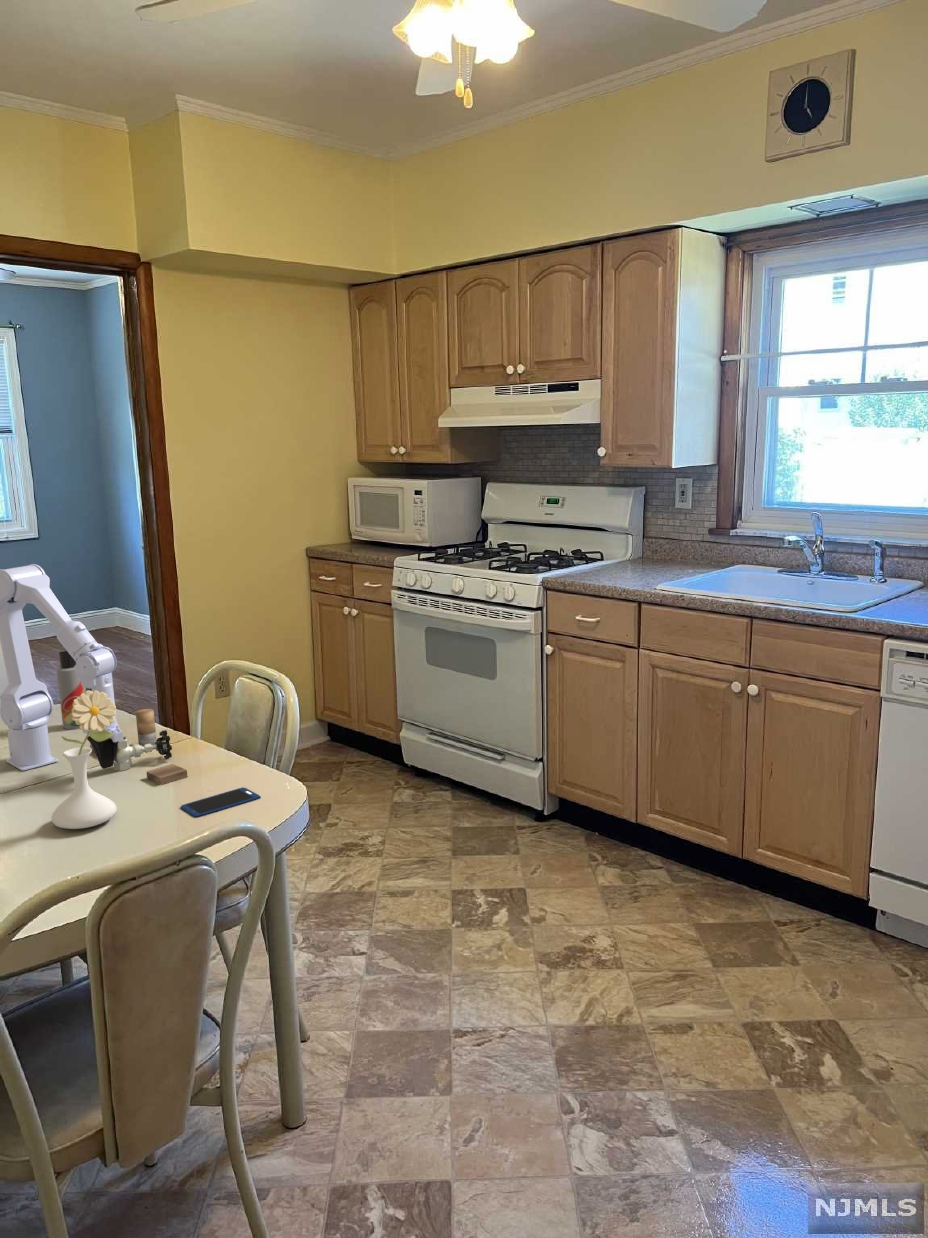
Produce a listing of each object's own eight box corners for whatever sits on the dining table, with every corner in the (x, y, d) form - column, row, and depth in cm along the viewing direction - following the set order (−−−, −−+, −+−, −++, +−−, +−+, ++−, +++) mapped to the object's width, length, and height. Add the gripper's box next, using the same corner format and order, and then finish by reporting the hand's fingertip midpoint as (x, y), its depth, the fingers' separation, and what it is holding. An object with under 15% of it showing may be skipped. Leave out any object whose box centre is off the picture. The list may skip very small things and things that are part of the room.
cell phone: (262, 799, 181) (262, 796, 181) (195, 820, 172) (195, 816, 172) (244, 790, 186) (244, 786, 186) (179, 809, 177) (178, 805, 177)
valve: (116, 774, 196) (173, 762, 203) (113, 744, 195) (170, 733, 201) (109, 765, 202) (164, 754, 208) (106, 736, 200) (162, 726, 207)
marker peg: (135, 744, 216) (132, 711, 214) (151, 740, 218) (148, 708, 217) (143, 748, 213) (140, 715, 211) (160, 744, 216) (156, 711, 214)
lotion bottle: (81, 729, 228) (73, 650, 225) (59, 730, 229) (50, 651, 225) (91, 722, 234) (82, 645, 230) (69, 723, 234) (60, 646, 230)
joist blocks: (90, 750, 212) (89, 744, 212) (115, 744, 216) (114, 738, 216) (161, 785, 189) (160, 778, 189) (187, 776, 194) (186, 770, 193)
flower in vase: (52, 840, 164) (35, 704, 159) (52, 817, 175) (36, 689, 170) (129, 826, 169) (115, 694, 165) (125, 804, 180) (112, 680, 175)
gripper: (67, 703, 196) (74, 764, 199) (97, 716, 186) (104, 780, 189) (99, 696, 201) (105, 755, 204) (130, 708, 191) (136, 770, 194)
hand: (107, 767), depth 197 cm, fingers closed, pressing on valve
